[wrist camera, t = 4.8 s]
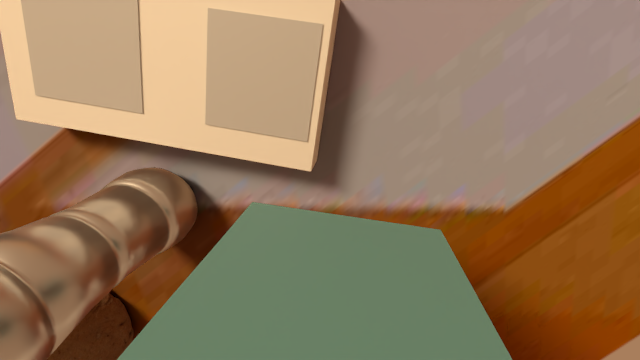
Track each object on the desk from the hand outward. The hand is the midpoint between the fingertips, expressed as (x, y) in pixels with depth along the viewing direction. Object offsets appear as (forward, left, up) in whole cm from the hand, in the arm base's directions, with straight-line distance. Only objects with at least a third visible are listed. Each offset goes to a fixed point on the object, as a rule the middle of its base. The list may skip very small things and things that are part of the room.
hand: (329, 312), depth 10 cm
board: (+14, -6, -15) cm, 21 cm away
